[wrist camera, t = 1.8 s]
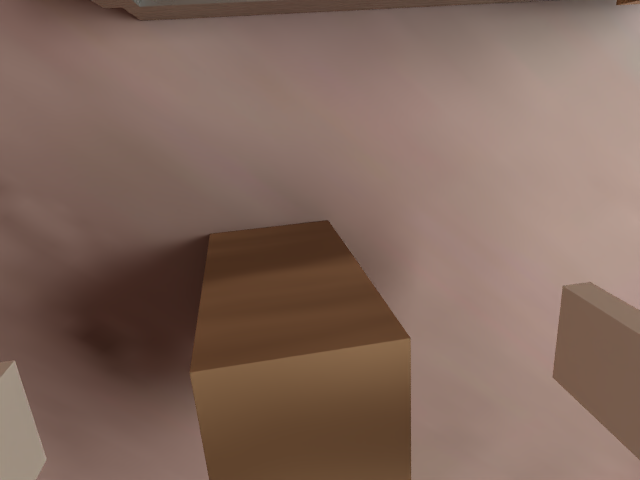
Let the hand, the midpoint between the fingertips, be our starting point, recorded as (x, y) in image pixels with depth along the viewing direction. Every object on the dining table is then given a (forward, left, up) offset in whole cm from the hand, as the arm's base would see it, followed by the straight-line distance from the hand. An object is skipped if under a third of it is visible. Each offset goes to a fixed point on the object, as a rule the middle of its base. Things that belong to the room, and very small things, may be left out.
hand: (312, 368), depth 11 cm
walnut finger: (0, 0, -6) cm, 6 cm away
